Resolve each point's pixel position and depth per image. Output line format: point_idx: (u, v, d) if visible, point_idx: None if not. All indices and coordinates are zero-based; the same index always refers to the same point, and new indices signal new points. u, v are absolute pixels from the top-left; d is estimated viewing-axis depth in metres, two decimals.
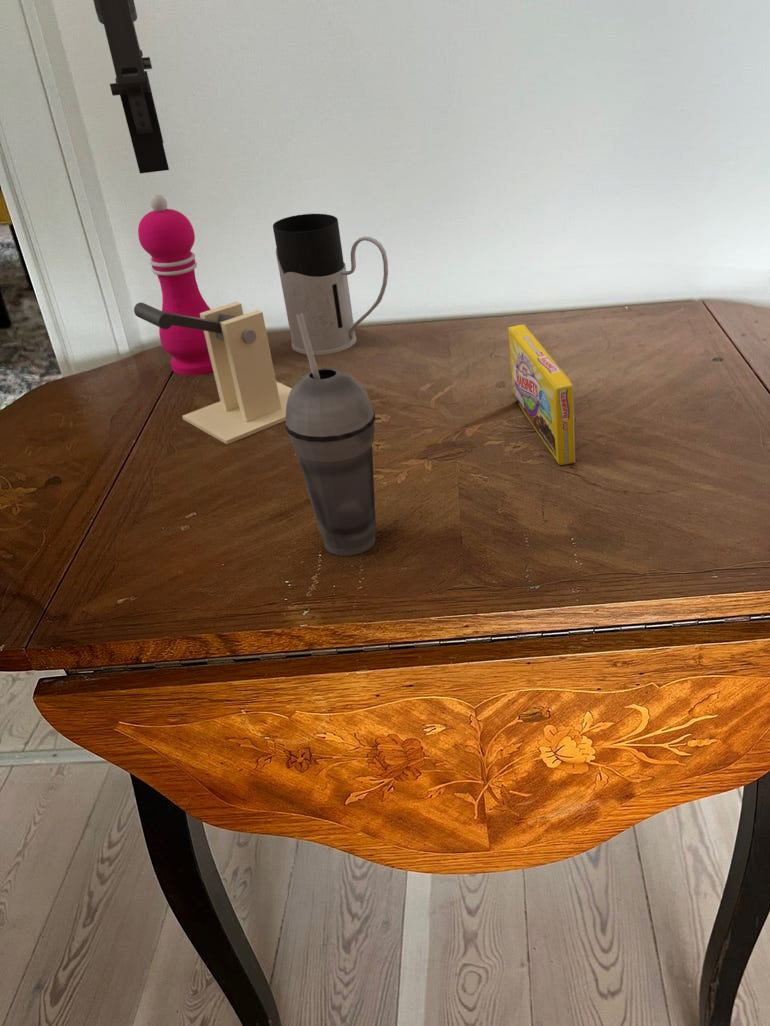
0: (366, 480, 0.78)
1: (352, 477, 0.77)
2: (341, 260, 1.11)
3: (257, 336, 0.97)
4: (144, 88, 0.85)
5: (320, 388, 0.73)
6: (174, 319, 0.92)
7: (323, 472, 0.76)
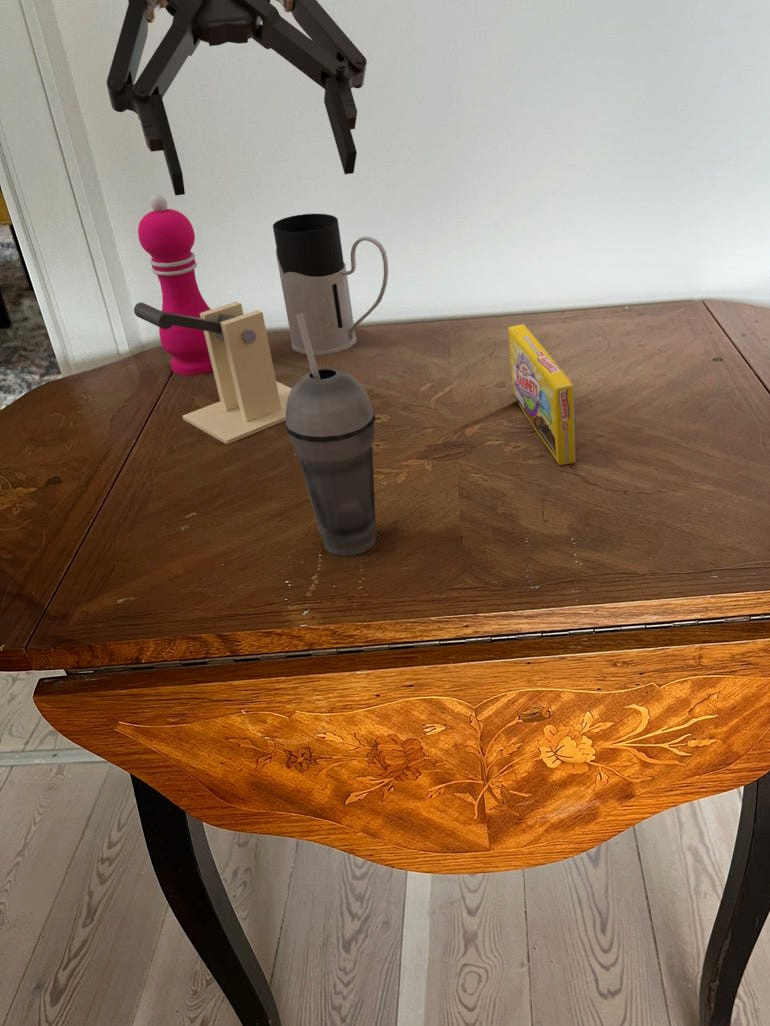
0: (366, 480, 0.78)
1: (352, 477, 0.77)
2: (341, 260, 1.11)
3: (257, 336, 0.97)
4: (135, 95, 0.72)
5: (320, 388, 0.73)
6: (174, 319, 0.92)
7: (323, 472, 0.76)
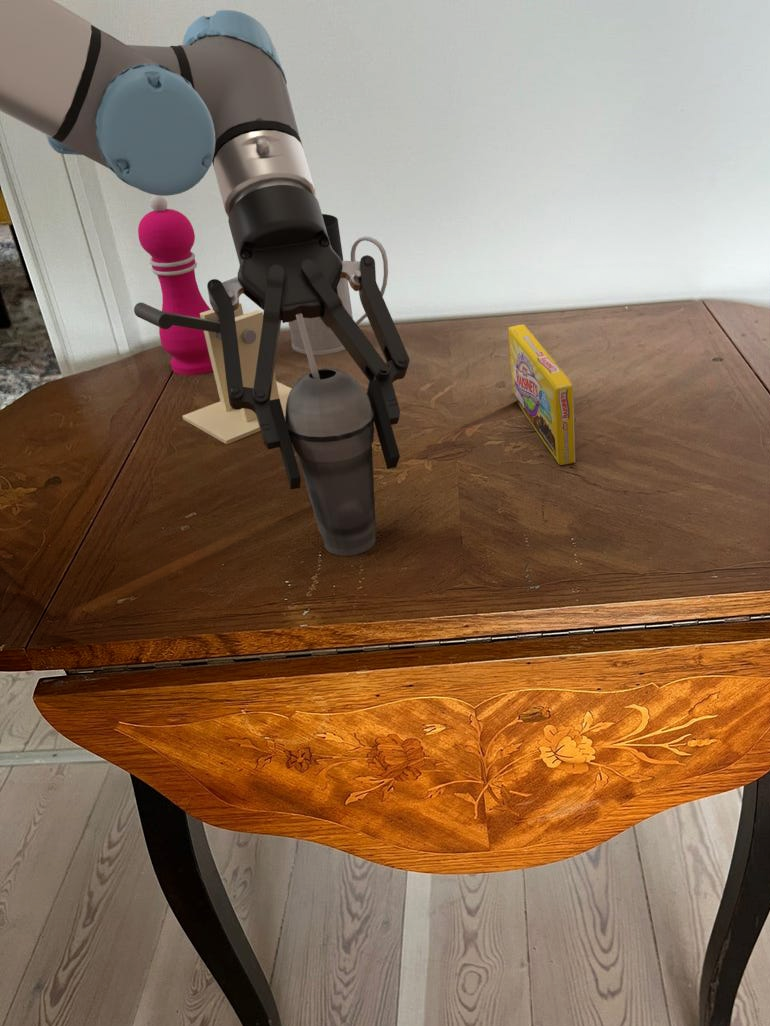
0: (366, 481, 0.78)
1: (352, 478, 0.77)
2: (341, 260, 1.11)
3: (257, 336, 0.97)
4: (254, 399, 0.74)
5: (320, 388, 0.73)
6: (174, 319, 0.92)
7: (323, 472, 0.76)
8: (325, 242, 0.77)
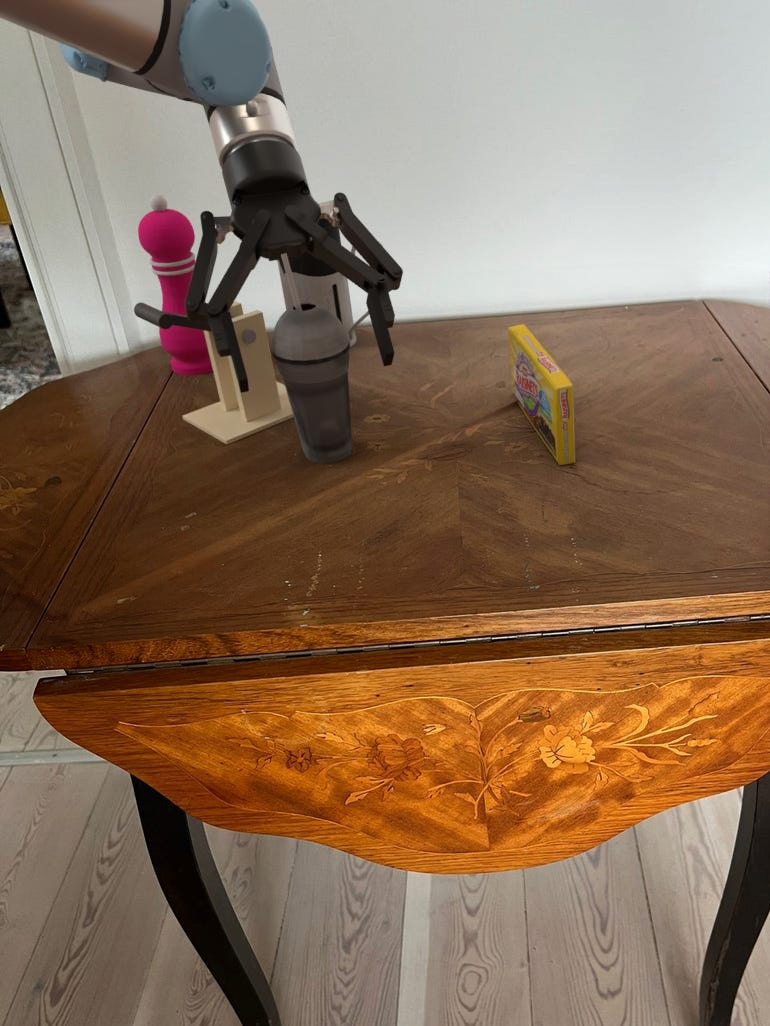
0: (342, 402, 0.90)
1: (330, 398, 0.89)
2: None
3: (257, 336, 0.97)
4: (208, 312, 0.85)
5: (302, 318, 0.85)
6: (174, 319, 0.92)
7: (305, 393, 0.88)
8: (306, 191, 0.89)
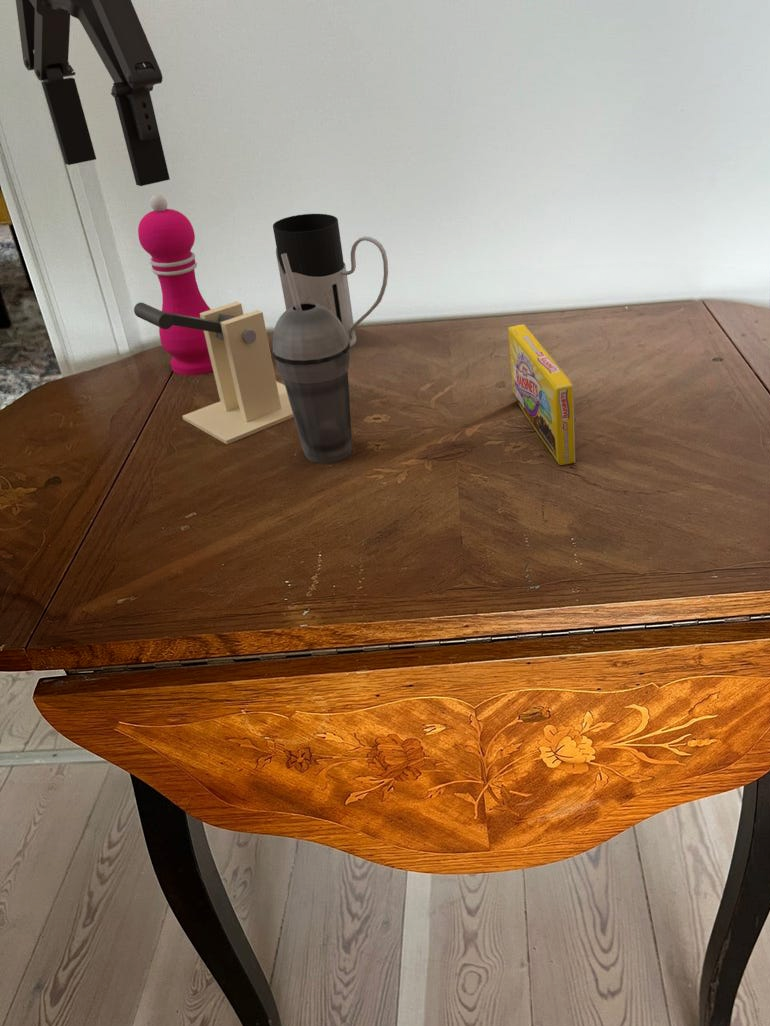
0: (342, 402, 0.90)
1: (330, 398, 0.89)
2: (341, 260, 1.11)
3: (257, 336, 0.97)
4: None
5: (302, 318, 0.85)
6: (174, 319, 0.92)
7: (305, 393, 0.88)
8: None
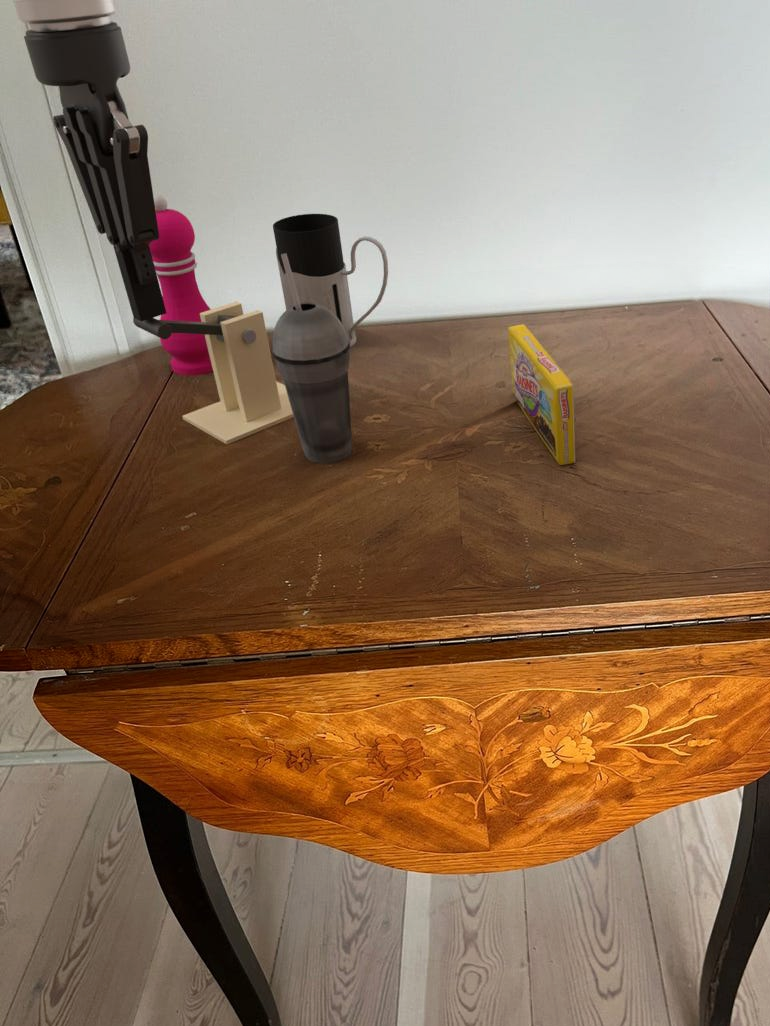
0: (342, 402, 0.90)
1: (330, 398, 0.89)
2: (341, 260, 1.11)
3: (257, 336, 0.97)
4: None
5: (302, 318, 0.85)
6: (173, 327, 0.92)
7: (305, 393, 0.88)
8: (93, 87, 0.76)
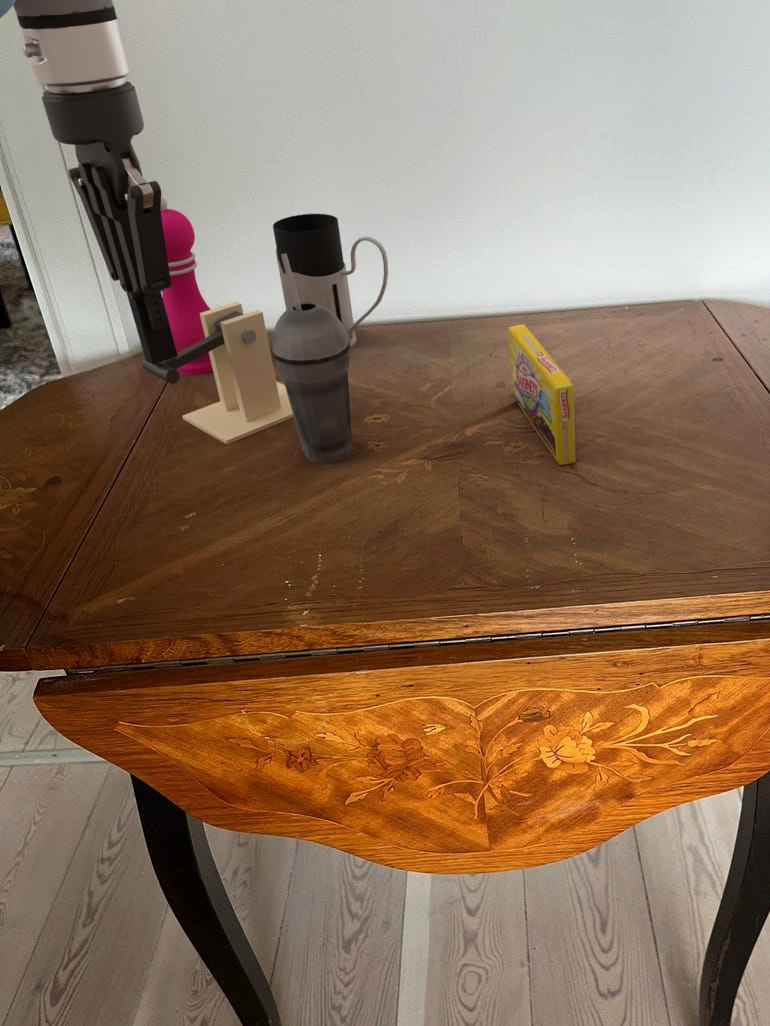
0: (342, 402, 0.90)
1: (330, 398, 0.89)
2: (341, 260, 1.11)
3: (257, 336, 0.97)
4: None
5: (302, 318, 0.85)
6: (179, 361, 0.94)
7: (305, 393, 0.88)
8: (108, 145, 0.79)
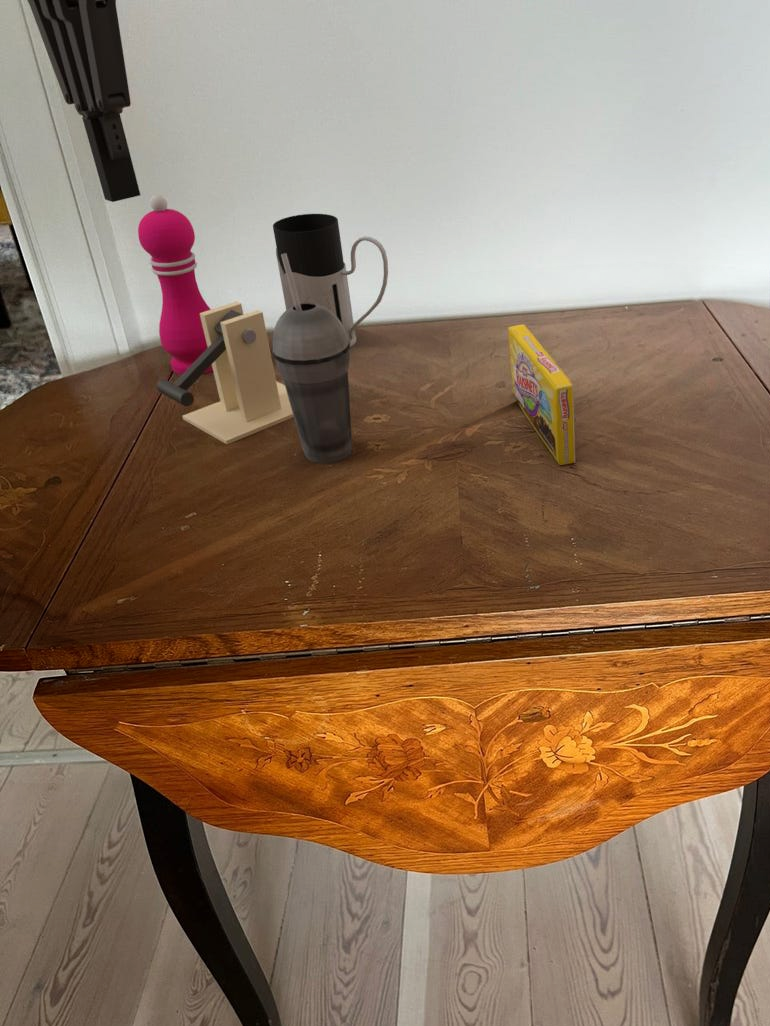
0: (342, 402, 0.90)
1: (330, 398, 0.89)
2: (341, 260, 1.11)
3: (257, 336, 0.97)
4: None
5: (302, 318, 0.85)
6: (190, 379, 0.96)
7: (305, 393, 0.88)
8: None
